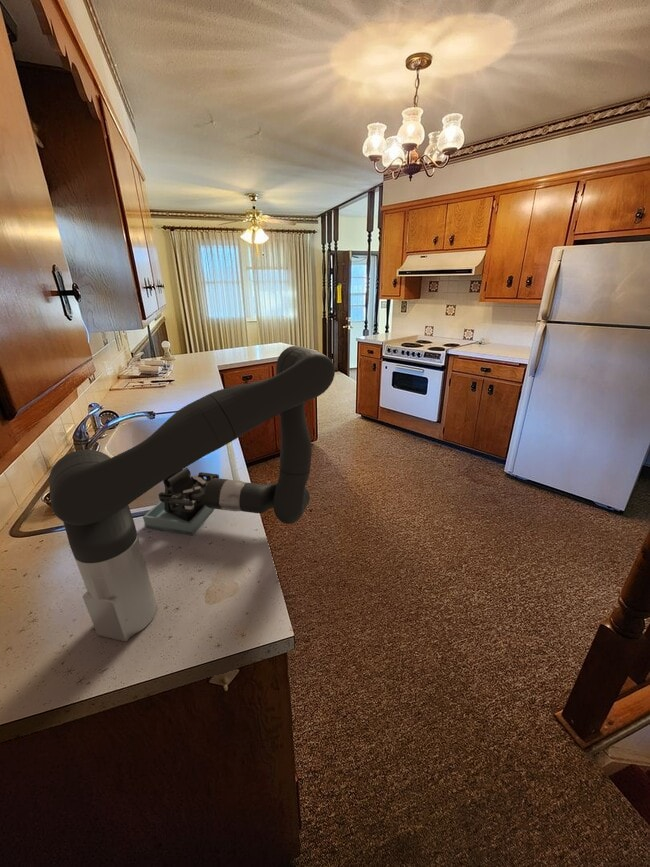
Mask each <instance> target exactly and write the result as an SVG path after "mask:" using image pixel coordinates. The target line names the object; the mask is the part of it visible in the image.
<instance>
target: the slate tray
mask: <svg viewBox="0 0 650 867" xmlns="http://www.w3.org/2000/svg"><path fill="white" fill-rule="evenodd" d="M164 504H165V502H161V501H160V500H159V501H158V503H157V504H155V505H154V506H153V507H151V509H150V510H149V511H147V512H146V513H145V514H144V515H142V519H143V523H144V526H145V529H149V530H156V531H163V532H169V533H175V534H181V535H188V536H193V535H194V534H195V533H196V532H197V531H198V530H199V528H200V527H201V526H202V525H203V524H204V523H205V521H206V520H208V518H209V517H210V516H211V515H212V514H213V512H214V511H215V510H214V509H212V508H208V507H207V506H206V505H204V507H203V508H202V509H201V510H200V511H199V512H198V513H197V514H196V515H195V516H194V517H193V518H192V519H191V520H190V521H189V522H188V521H186V520H183V519H181V518H179V517H177V516H175V515H172V514H170V513H168V512H166V511H165V510H164ZM213 510H214V511H213ZM209 515H210V516H209Z"/></svg>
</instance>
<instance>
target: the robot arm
mask: <svg viewBox="0 0 650 867" xmlns="http://www.w3.org/2000/svg"><path fill="white" fill-rule="evenodd" d="M275 365H276V366H275V375H273V376H271V377H270V378H267V379H264V380H260V381H256V382H250V383H244V384H239V385H234V386H230V387H227V388H221V389H218V390H216V391H213V392H211V393H208V394H206V395H204V396H202V397H200V398H198V399H196V400H194V401H192V402H190V403H189V404H187V405H185V406H183V407H181V408H180V409H178V410H176V412H175V413H173V415H171V416H170V417H169V418H168V419H167V420H166V421H165V422H164V423H163V424H162V425H161V426H160V427H158V428H157V430H155V431H154V432H153V433H152V434H150V436H148V437H147V438H146V439H144V440H143V441H142V442H140V443H138V444H137V445H135V446H133V447H131V448H129V449H127V450H125V451H122V452H120V453H118V454H117V455H115V456H112V457H110V456H109V455H107V454H105V453H104V452H102V451H99V450H96V449H95V450H94V449H79V450H74V451H71V452H69V453H67V454H65V455H64V456H62V457H61V458H60V459H58V460H57V461H56V462H55V464H54V465H53V467H52V468H51V471H50V473H49V478H48V484H49V485H48V486H49V487H48V488H49V497H50V498H49V499H50V504H51V508H52V510H53V512H54V515H55V516H56V517H57V518H58V520H61V521H62V522H63V526H64V529H65V532H66V536H67V539H68V544H69V547H70V550H71V552H72V555H73V558H74V560H75V562H76V565H77V568H78V570H79V574H80V576H81V579H82V581H83V584H84V586H85V589H86V592H85V593H84V594H83V595H82V600H83V601H84V604H85V607H86V610H87V612H88V614H89V617H90V619H91V622H92V624H93V627H94V629H95V632H96V635H97V636H101V637H104V638H109V639H113V640H117V641H120V642H121V641H122V642H128V641H129V639H130V638H131V637H132V636H134V635H136V634H137V633H139V632H141V631H142V630H143V629H145V628H146V627H147V626H148V625H149V624H150V623H151V622H152V620H153V619H154V618H155V616H156V614H157V611H158V603H157V599H156V598H155V597H156V596H155V592H154V589H153V585H152V582H151V578H150V575H149V571H148V567H147V563H146V561H145V558H144V553H143V550H142V546H141V542H140V538H139V536H138V532H137V528H136V524H135V521H134V517H133V515H132V512H131V508H130V506H129V505H130V504H131V503H132V502H134V501H136V500H137V499H138V498H141V496H143V495H144V494H145V493H147V492H148V491H150V490H151V489H153V488H154V487H155V486H157V485H158V484H160V483H161V482H163V480H164V479H166V478H168V477H169V476H171V475H173V474H175V473H176V472H178V471H180V470H182V469H185V468H186V467H187V468H188V467H189V466H190V465H192V464H195V462H197V461H199V460H200V459H202V458H204V457H206V456H208V455H209V454H211V453H213V452H215V451H218V450H220V449H221V448H222V447H224V446H226V445H228V444H230V443H232V442H233V441H235V440H237V439H238V438H240V437H242V436H243V435H244V434H246V433H248V432H249V431H251V430H253V429H255V428H258V426H260V425H263V424H264V423H266V422H268V421H269V420H271V419H274V417H276V416H278V415H279V419H280V420H279V422H280V451H279V452H280V453H279V470H278V471H279V473H278V474H279V475H278V479H277V482H273V483H266V484H263V483H262V484H260V483H253V482H245V481H241V480H237V479H229V478H227V479H226V478H220V475H219V474H217V473H209V472H204V471H203V472H199V473H198V474H196V475H193V476H191V478H192V480H193V482H194V485H193V486H192V488H190V489H188V490H183V491H182V492H181V493H178V494H171V493H165V492H160V493H158V498H159V502H160V501H161V502H166V503H170V508H171V510H176V511H185V512H193V511H194V506H195V505H196V504H204V505H206V506H207V507H208V508H212V509H215V510H222V511H227V512H245V513H252V514H264V513H266V512H267V511H269V510H270V509H273V513H274V515H275V517H276V518H277V520H278V521H280V522H281V523H283V524H287V525H290V524H291V525H292V524H295V523H296V522H299V520H300V519H301V518H302V516H303V515H304V512H306V511H305V510H306V508H307V507H308V504H309V503H310V500H311V495H310V492H309V490H308V489H307V488H306V485H307V482H308V480H309V477H310V473H311V465H312V456H313V455H312V454H313V453H312V452H313V451H312V450H313V449H312V447H313V446H312V440H311V436H310V435H311V434H310V432H309V431H310V430H309V427H308V422H307V419H306V418H307V417H306V410H305V403H306V402H310V401H312V400H313V399H316V398H318V397H319V396H321V395H322V394H324V393H325V392H326V391H327V390H329V388H330V386H331V385H332V383H333V381H334V378H335V374H336V369H335V365H334V362H333V361H332V359H331V358H330V357H328V356H327V355H325V354H324V353H322V352H319V351H317V350H313V349H310V348H307V347H303V346H297V345H293V346H288V347H287V348H285V349H284V350H283V351H282V352H281V353H279V355H278V358H277V360H276V364H275ZM186 494H188V497H189V499H190V500H189V499H186V496H185V495H186ZM179 497H182V498H183V499H182V500H181V499H177V498H179ZM176 505H178V506H176Z"/></svg>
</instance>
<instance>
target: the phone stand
mask: <svg viewBox="0 0 650 867" xmlns="http://www.w3.org/2000/svg"><path fill="white" fill-rule="evenodd" d="M191 477H192V475H191V471H190V468H188V466H187V467H185V468H184V469H182V470H180V471H178V472H176V473H175V474H173V475H171V476H169V477H168V478H166V479H164V480H163V481H162V482H163V485H164V493H171V494H178V493H181V492H182V491H183V490H188V489H190V488H192V486H193V485H194V482H193V480H192V478H191ZM185 496H186V499H189V497H188V494H186V495H185ZM177 499H181V500H182V499H183V498H182V497H179V498H177ZM189 500H190V499H189ZM176 506H178V505H176ZM203 507H204V504H196V505H195V506H194V511H193V512H185V511H176V510H171V508H170V503H166V502H165V504H164V510H165V511H166V512H168V513H170V514H172V515H175V516H177V517H179V518H181V519H183V520H186V521H188V522H189V521H190V520H191V519H192V518H193V517H194V516H195V515H196V514H197V513H198V512H199V511H200V510H201V509H202V508H203Z"/></svg>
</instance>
